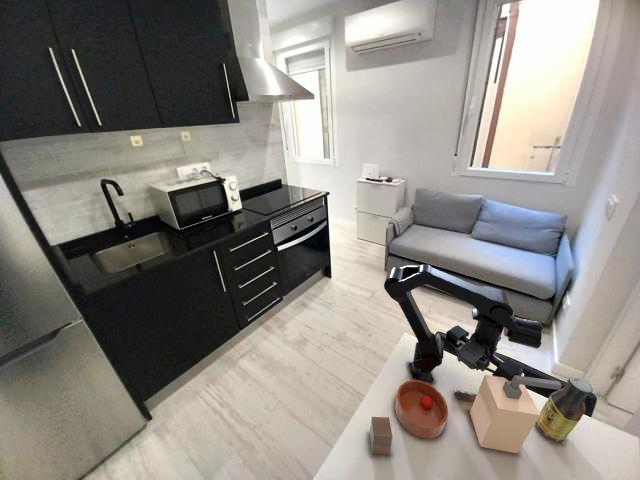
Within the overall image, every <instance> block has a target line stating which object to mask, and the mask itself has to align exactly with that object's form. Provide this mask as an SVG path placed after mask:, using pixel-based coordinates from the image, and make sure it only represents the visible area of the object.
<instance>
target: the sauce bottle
mask: <svg viewBox="0 0 640 480" xmlns="http://www.w3.org/2000/svg"><path fill="white" fill-rule="evenodd" d="M566 381H567V383H566V385H565V386H564V387H561V389H560V390H556V391H554V392H552V393H551V394H550V395H549V397H548V399H547V400H546V402H545V403H544V405H543V406H542V408H541V410H540V411H539V413H540V416H539V418H538V420H537V421H536V423H535V425H536V427H537V429H538V430H539V432H540V433H541V434H542V435H543V436H544V437H546V439H548V440H550V441H552V442H557V443H558V442H560V443H561V442H564V440H566V439H567V438H568V436H569V435H570V434H571V432H572V431H573V430H574V428H575V427H576V426H577V424H579V422H580V421H581V419H582V417H583V416H584V415H585V413H586V409H587V408H586V402H585V401H586V399H587V397H588V396H591V394H592V393H593V392H594V388H593V385H592V384H591V383H589V381H587V380H586V379H584V378H582V377H580V376H577V375H572V376H569V378H568V379H567V380H566Z"/></svg>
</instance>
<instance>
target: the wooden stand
mask: <svg viewBox="0 0 640 480" xmlns="http://www.w3.org/2000/svg"><path fill="white" fill-rule="evenodd" d="M369 429H370V430H369V442H370V451H371V454H372V455H384V456H390V453H391V447H392V442H393V432H392V425H391V419H390V417H387V416H371V419H370V428H369Z"/></svg>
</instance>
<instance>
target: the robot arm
mask: <svg viewBox="0 0 640 480" xmlns="http://www.w3.org/2000/svg"><path fill="white" fill-rule="evenodd" d="M425 285H427V286H429V287H432V288H433V289H436V290H439V291H441V292H443V293H445V294H448V295H450V296H452V297H454V298H457V299H460V300H461V301H464V302H466V303H468V304H469V305H471V306H473V307H474V309H472V310H471V317H472V320H474V321H477V322H476V325H475V329H474V332H473V333H472V334H471V335H470V332H469V331H467V330H466V329H464V328H463V327H462V326H460V325H458V324H457V325H454V326H453V327H451V328H449V329H448V330H447V331H446V333H445V336H444V339H445V340H447V341H448V343H449V344H450V345H452V346H453V347H454V349H455V354H456V357H457V358H456V359H457V362H458V363H462V364H464V365H465V366H467V368H468V369H470V370H472V371H473V370H476V371H479V370H480V371H481V372H485V371H486V370H487V369H488V367H489V366H490V365H491V364H492V365H494V366H495V367H496V369H494V372H493V373H492V374H491V376H497V377H504V378H505V379H507V380H508V381H512V379H513V377H514V375H517V376H523V373H524V370H523V368H522V367H521V366H519V365H518V364H517V363H515V362H513V361H512V360H510V359H509V358H506V359H505V360H502V359H500V358H499V357H498V356H496V355H495V353H496V352H497V350H498V344H499V342H500V341H501V340H502V337H501V336H502V334H503V335H504V337H507V341H508V342H510V343H515V344H518V345H522V346H524V347H525V346H526V347H529V348H533V349H540V347H541V345H542V338H543V337H542V331H543V326H542V323H541V322H540V321H537V320H529V319H526V318H525V319H524V318H521V317H517V316H515V313H514V309H513V306H512V303H511V299H510V296H509V295H508V293H507V292H505V291H504V290H502V289H499V288H496V287H492V286H488V285H487V286H486V285H485V286H484V285H483V286H480V285H476V284H472V283H470V282H468V281H465V280H463V279H460V278H458V277H456V276H454V275H452V274H449V273H446V272H444V271H441V270H439V269H438V268H437V269H436V268H434V267H432V266H431V265H430V264H427V263H423V264H420V265H405V266H402V267H398V266H397V267H393V268H390V270H389V271H388V273H387V275H386V278H385V281H384V283H383V288H384V290H385V292H386V293H387V294H388V296H389V297H390V299H391V300H393V301H395V302H397V303H398V305H399V307H400V309H401V311H402V313H403V316H404V317H405V318H406V321H407V323H408V325H409V326H410V328H411V330H412V332H413V335H414V336H415V338H416V340H417V342H415V347H414V354H413V359H412V362H408V364H407V365H408V368H409V372H410V376H411V378H412V379H411V380H420V381H423V382H426V383H428V382H429V383H431V382H432V383H433V382H434V380H435V379H434V376H433V374H432V371H434V369H436V368H437V367H440V366H442V364H443V359H444V355H445V354H444V353H445V350H444V349H445V342H444V341H443V340H442V338H441V335H440V333H439V332H437V333H433V332H432V331H431V330H430V328H429V326H428V324H427V322H426V320H425V318H424V316H423V314H422V312H421V310H420V308H419V306H418V304H417V302H416V300H415V298H414V296H413V293H412V291H413V290H415V289H416V288H419V287H421V286H425ZM469 336H470V337H469ZM468 337H469V338H468Z"/></svg>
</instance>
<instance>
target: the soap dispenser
mask: <svg viewBox="0 0 640 480" xmlns="http://www.w3.org/2000/svg"><path fill="white" fill-rule="evenodd" d="M526 386H530V387H536V388H544V389H550V390H556V391H558V390H560V389H562V388H563V385H562V384H561V382H560V381H559V380H552V379H546V378H537V377H531V376H524V375H521V376H517V375H514V377H513V379H512V381H508V380H507V379H505V378H504V377H497V376H492V375H488V374H484V375H483V378H482V380H481V383H480V385H479V388H478V391H477V393H476V394H477V396H476V398H475V401H474V402H472V406H471V408H470V411H469V415H470V418H471V421H472V425H473V428H474V431H475V434H476V437H477V441H478V443H479V446H480V447H481V448H484V449H485V448H486V449H491V450H496V451H502V452H507V453H512V454H518V453H519V452H520V450H521V448H522V447H523V445H524V443H525V441H526V440H527V439H528V437H529V436H530V434H531V432H532V430H533V428H534V426H535V425H536V421H537V420H538V418H539V416H540V411H539V409H538V407H537V405H536V403H535V402H534V400H533V398H532V397H531V394H530V393H529V391H528V389H527V387H526Z"/></svg>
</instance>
